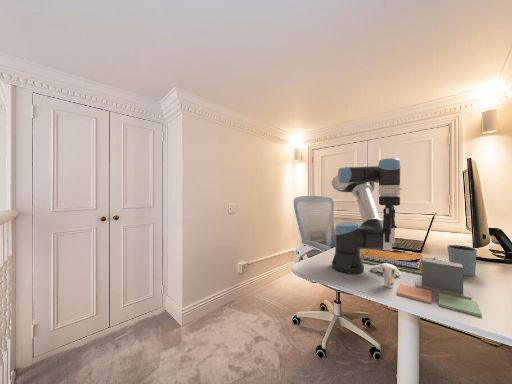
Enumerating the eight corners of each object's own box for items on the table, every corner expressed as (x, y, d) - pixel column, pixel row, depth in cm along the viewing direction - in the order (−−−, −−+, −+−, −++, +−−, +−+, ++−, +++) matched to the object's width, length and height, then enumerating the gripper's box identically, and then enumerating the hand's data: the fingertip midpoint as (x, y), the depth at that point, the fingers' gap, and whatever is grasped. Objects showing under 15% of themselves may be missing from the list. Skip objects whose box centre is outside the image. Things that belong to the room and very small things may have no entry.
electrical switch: (446, 283, 87) (443, 261, 88) (430, 281, 91) (428, 260, 91) (444, 276, 95) (441, 256, 95) (430, 274, 98) (427, 255, 99)
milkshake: (380, 282, 89) (380, 259, 89) (395, 285, 86) (395, 262, 86) (379, 286, 86) (379, 262, 86) (394, 290, 82) (394, 265, 82)
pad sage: (439, 305, 71) (439, 303, 71) (438, 294, 78) (438, 292, 78) (481, 317, 64) (481, 314, 64) (476, 303, 72) (476, 301, 72)
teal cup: (475, 278, 92) (475, 251, 92) (445, 271, 100) (445, 247, 100) (477, 272, 99) (477, 247, 99) (449, 266, 107) (449, 243, 107)
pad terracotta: (397, 294, 79) (397, 292, 79) (400, 285, 86) (400, 283, 86) (431, 303, 72) (431, 301, 72) (431, 292, 80) (431, 290, 80)
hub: (415, 287, 84) (415, 260, 84) (416, 280, 90) (416, 255, 90) (471, 300, 74) (471, 270, 74) (468, 292, 80) (468, 264, 80)
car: (401, 274, 98) (401, 265, 98) (398, 278, 93) (398, 268, 93) (373, 268, 106) (373, 259, 106) (369, 271, 102) (369, 262, 102)
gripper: (397, 197, 74) (397, 255, 74) (402, 194, 93) (402, 241, 93) (373, 196, 78) (374, 251, 79) (382, 194, 98) (383, 238, 98)
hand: (389, 246), depth 86 cm, fingers open, 13 cm apart
